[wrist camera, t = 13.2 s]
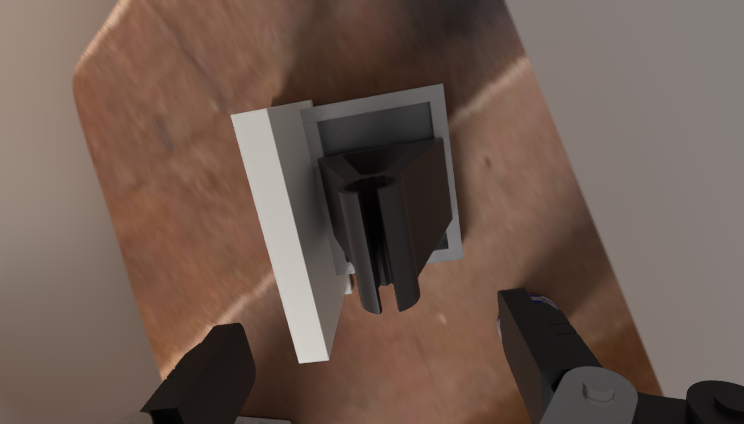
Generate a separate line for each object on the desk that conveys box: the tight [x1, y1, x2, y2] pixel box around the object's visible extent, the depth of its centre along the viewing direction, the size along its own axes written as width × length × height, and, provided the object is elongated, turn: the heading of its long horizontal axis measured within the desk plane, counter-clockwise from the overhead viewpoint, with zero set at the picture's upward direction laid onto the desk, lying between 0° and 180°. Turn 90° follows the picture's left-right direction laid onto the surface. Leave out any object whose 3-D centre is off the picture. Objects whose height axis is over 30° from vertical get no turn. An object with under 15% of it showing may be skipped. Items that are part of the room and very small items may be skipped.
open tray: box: [300, 83, 463, 276], centre depth 30 cm, size 13×10×2 cm
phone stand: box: [317, 138, 453, 314], centre depth 23 cm, size 9×6×12 cm, turn 99°
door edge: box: [231, 100, 352, 364], centre depth 28 cm, size 16×3×9 cm, turn 10°
